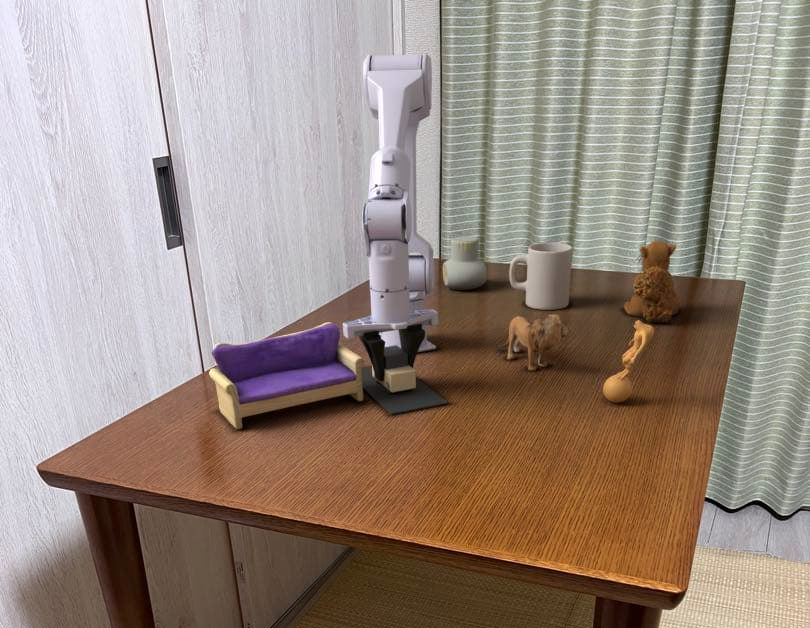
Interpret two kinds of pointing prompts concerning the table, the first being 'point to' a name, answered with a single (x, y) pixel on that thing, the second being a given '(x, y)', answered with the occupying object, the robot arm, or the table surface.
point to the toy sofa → (284, 372)
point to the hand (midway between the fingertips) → (393, 377)
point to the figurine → (627, 365)
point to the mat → (400, 395)
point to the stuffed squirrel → (654, 285)
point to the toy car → (397, 370)
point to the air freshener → (464, 265)
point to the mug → (545, 275)
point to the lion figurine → (535, 337)
